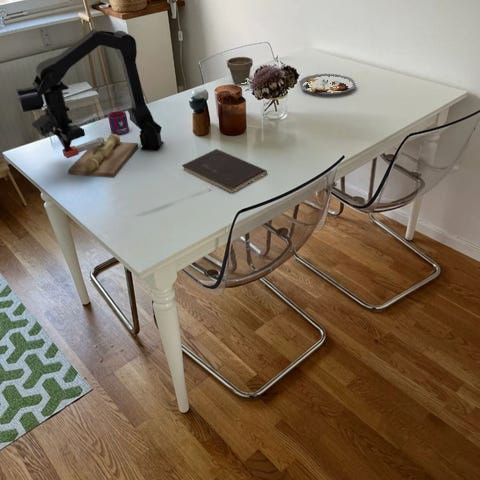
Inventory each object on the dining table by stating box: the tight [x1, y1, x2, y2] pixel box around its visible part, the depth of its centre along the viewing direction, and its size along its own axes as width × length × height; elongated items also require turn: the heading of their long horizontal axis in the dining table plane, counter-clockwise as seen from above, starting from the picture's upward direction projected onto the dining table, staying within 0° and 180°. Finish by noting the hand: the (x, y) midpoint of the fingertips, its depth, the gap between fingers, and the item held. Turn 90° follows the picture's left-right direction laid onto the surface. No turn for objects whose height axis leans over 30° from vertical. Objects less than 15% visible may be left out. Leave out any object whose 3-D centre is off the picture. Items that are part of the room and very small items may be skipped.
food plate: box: [299, 73, 357, 95], centre depth 222 cm, size 25×23×4 cm
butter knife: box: [177, 185, 216, 202], centre depth 153 cm, size 1×27×3 cm
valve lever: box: [62, 136, 106, 159], centre depth 170 cm, size 14×3×2 cm, turn 131°
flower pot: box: [226, 56, 254, 85], centre depth 229 cm, size 12×11×10 cm
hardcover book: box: [181, 148, 268, 194], centre depth 166 cm, size 16×23×2 cm
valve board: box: [67, 133, 139, 178], centre depth 175 cm, size 16×22×6 cm
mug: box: [107, 110, 130, 136], centre depth 195 cm, size 7×10×7 cm
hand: (67, 150), depth 169 cm, fingers closed
